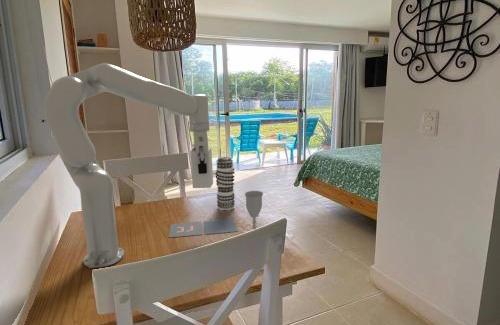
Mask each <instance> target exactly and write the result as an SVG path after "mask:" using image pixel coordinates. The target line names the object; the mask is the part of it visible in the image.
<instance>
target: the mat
mask: <svg viewBox="0 0 500 325" xmlns="http://www.w3.org/2000/svg"><path fill="white" fill-rule="evenodd" d="M203 227H204V228H203V229H204V235H216V234H225V233H226V234H227V233H237V232H238V229H237V226H236V222H235V219H234V218H229V219H228V218H227V219H218V220H215V219H213V220H204V221H203Z"/></svg>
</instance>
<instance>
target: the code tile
mask: <svg viewBox="0 0 500 325" xmlns="http://www.w3.org/2000/svg"><path fill="white" fill-rule="evenodd" d="M202 225H203V222H202V221H192V222H191V221H190V222H182V223H181V222H180V223H179V222H178V223H171V224H170V228H169V233H168V239H170V238H183V237H193V236H202V235H203V228H202V227H203V226H202Z"/></svg>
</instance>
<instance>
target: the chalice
mask: <svg viewBox="0 0 500 325" xmlns="http://www.w3.org/2000/svg"><path fill="white" fill-rule="evenodd" d="M263 195H264V192H263V191H260V190H250V191H249V190H248V191H245V193H244V196H245V207H246V210H247V212H248V215H249V216H250V218H252V226H251V227H252V230H253V229H255V230H257V229H256V228H257V224H256V223H257V221H256V220H257V219H256V218H257V217H258V216H259V214H261V209H262V207H263Z"/></svg>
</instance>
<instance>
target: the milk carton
mask: <svg viewBox="0 0 500 325" xmlns="http://www.w3.org/2000/svg"><path fill="white" fill-rule="evenodd" d="M192 147H193V148H192V149H191V150H190V154H189V155H190V167H191V180H192V182H191V183H192V188H193V189H211V188H212V186H213V184H214V175H213V174H214V173H213V156H212V154H213V153H212V147H211V146H210V145H209V144H208V152H209V156H208V157H207V156H206V155H205V159H206V165H207V173H205V174H199V173H198V164H199V162H198V157H196V151H195V147H194V143H193V144H192ZM199 150H200V147H199ZM203 153H204V152H203ZM204 154H205V153H204ZM199 156H200V152H199Z"/></svg>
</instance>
